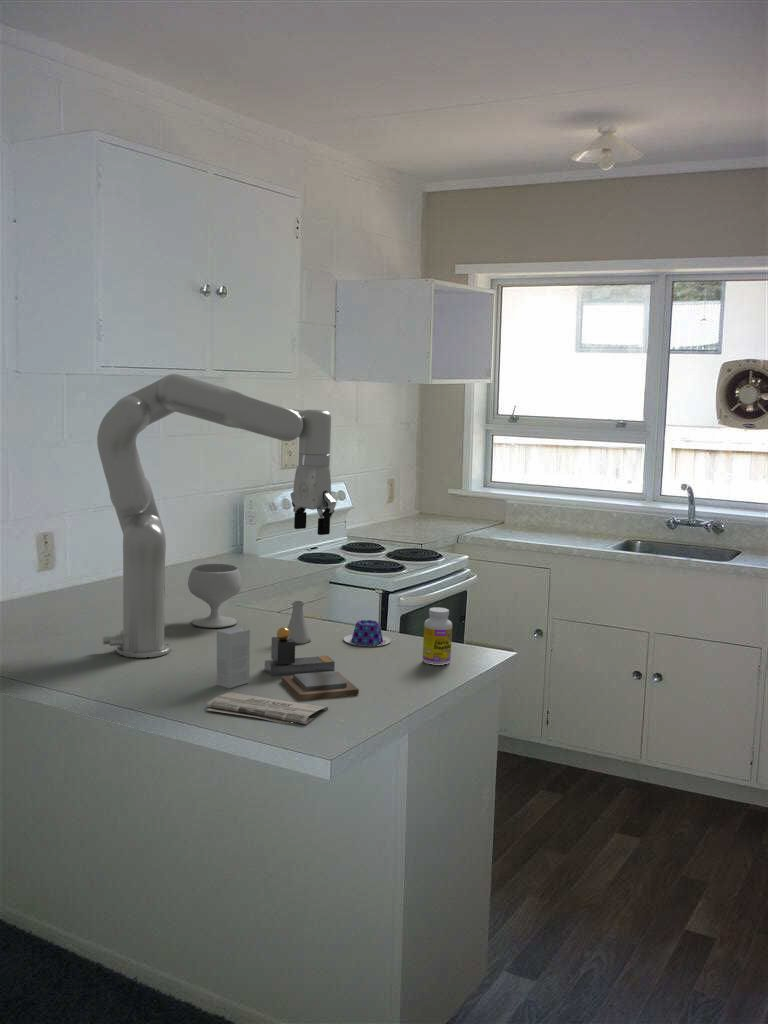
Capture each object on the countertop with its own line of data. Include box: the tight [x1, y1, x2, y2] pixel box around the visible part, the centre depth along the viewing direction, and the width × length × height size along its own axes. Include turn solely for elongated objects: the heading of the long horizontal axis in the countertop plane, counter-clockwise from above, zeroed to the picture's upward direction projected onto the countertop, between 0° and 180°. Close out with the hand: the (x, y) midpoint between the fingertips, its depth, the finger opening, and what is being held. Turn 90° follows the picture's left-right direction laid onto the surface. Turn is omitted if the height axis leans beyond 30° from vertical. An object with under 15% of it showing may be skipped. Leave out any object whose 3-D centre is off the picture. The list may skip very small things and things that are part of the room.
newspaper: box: [205, 691, 329, 725], centre depth 201 cm, size 23×12×2 cm, turn 69°
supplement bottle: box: [422, 607, 453, 664], centre depth 238 cm, size 7×7×13 cm
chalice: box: [187, 563, 243, 629], centre depth 267 cm, size 14×14×15 cm
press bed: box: [281, 670, 360, 701], centre depth 216 cm, size 13×13×2 cm
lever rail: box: [264, 655, 335, 676], centre depth 229 cm, size 15×5×2 cm, turn 112°
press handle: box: [270, 626, 296, 665], centre depth 227 cm, size 4×5×8 cm
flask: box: [286, 600, 312, 644], centre depth 253 cm, size 7×7×10 cm
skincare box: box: [216, 625, 251, 689], centre depth 216 cm, size 6×4×12 cm
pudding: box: [343, 619, 391, 647], centre depth 255 cm, size 12×12×5 cm
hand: (311, 531), depth 245 cm, fingers open, 9 cm apart
